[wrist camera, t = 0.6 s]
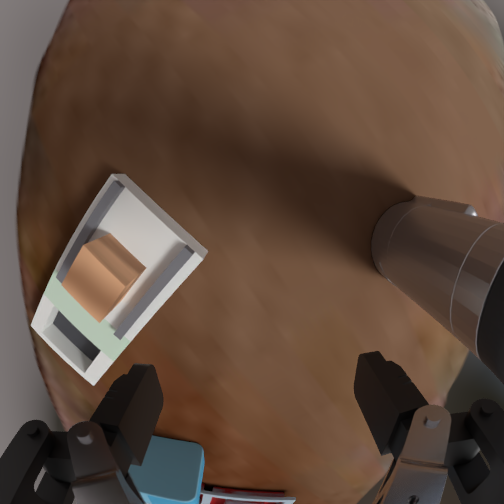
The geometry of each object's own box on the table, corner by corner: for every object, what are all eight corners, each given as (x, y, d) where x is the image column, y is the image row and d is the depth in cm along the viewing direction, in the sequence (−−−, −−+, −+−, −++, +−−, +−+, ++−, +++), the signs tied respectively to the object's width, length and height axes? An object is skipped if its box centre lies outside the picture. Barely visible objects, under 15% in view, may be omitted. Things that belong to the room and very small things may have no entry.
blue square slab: (138, 444, 37) (120, 495, 25) (133, 430, 36) (112, 484, 24) (205, 456, 37) (197, 512, 25) (204, 443, 36) (195, 503, 24)
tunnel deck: (125, 173, 26) (106, 173, 22) (208, 251, 28) (201, 262, 24) (42, 316, 30) (26, 328, 26) (102, 373, 32) (90, 390, 28)
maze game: (294, 488, 41) (295, 499, 38) (271, 515, 46) (271, 524, 43) (126, 461, 39) (122, 472, 36) (136, 493, 44) (133, 502, 41)
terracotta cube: (110, 233, 24) (83, 244, 20) (146, 267, 25) (125, 286, 20) (87, 268, 25) (61, 284, 20) (121, 300, 26) (99, 323, 21)
